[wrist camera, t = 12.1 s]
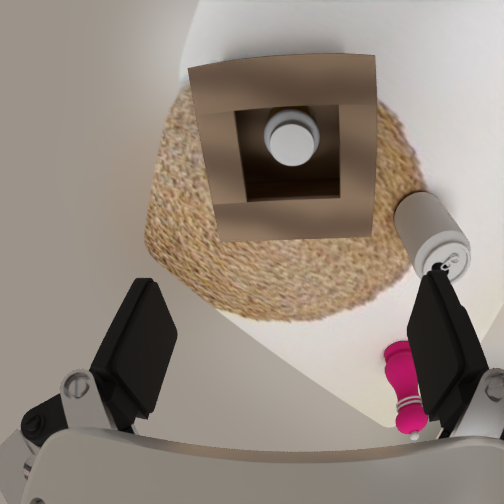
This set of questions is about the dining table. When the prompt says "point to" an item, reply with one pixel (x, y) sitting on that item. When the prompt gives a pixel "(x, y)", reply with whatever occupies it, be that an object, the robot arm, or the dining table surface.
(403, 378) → the pepper mill
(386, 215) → the dining table surface
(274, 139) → the supplement bottle
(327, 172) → the drop box
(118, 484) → the robot arm
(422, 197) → the can
